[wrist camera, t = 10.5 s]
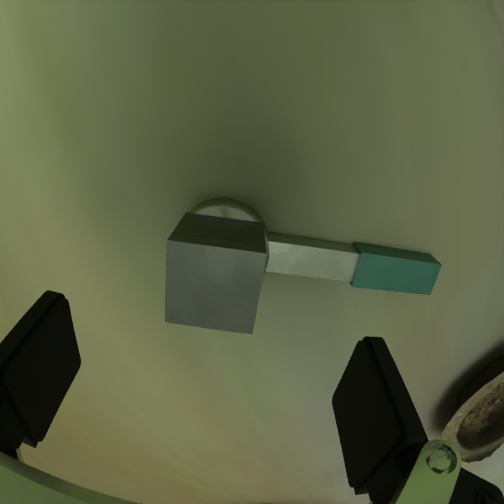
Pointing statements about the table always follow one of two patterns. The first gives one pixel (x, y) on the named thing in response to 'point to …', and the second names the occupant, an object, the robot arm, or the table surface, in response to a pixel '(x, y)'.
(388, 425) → the robot arm
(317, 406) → the table surface
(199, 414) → the table surface
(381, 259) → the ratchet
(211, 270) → the brushed grey cube
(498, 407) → the stone bowl
